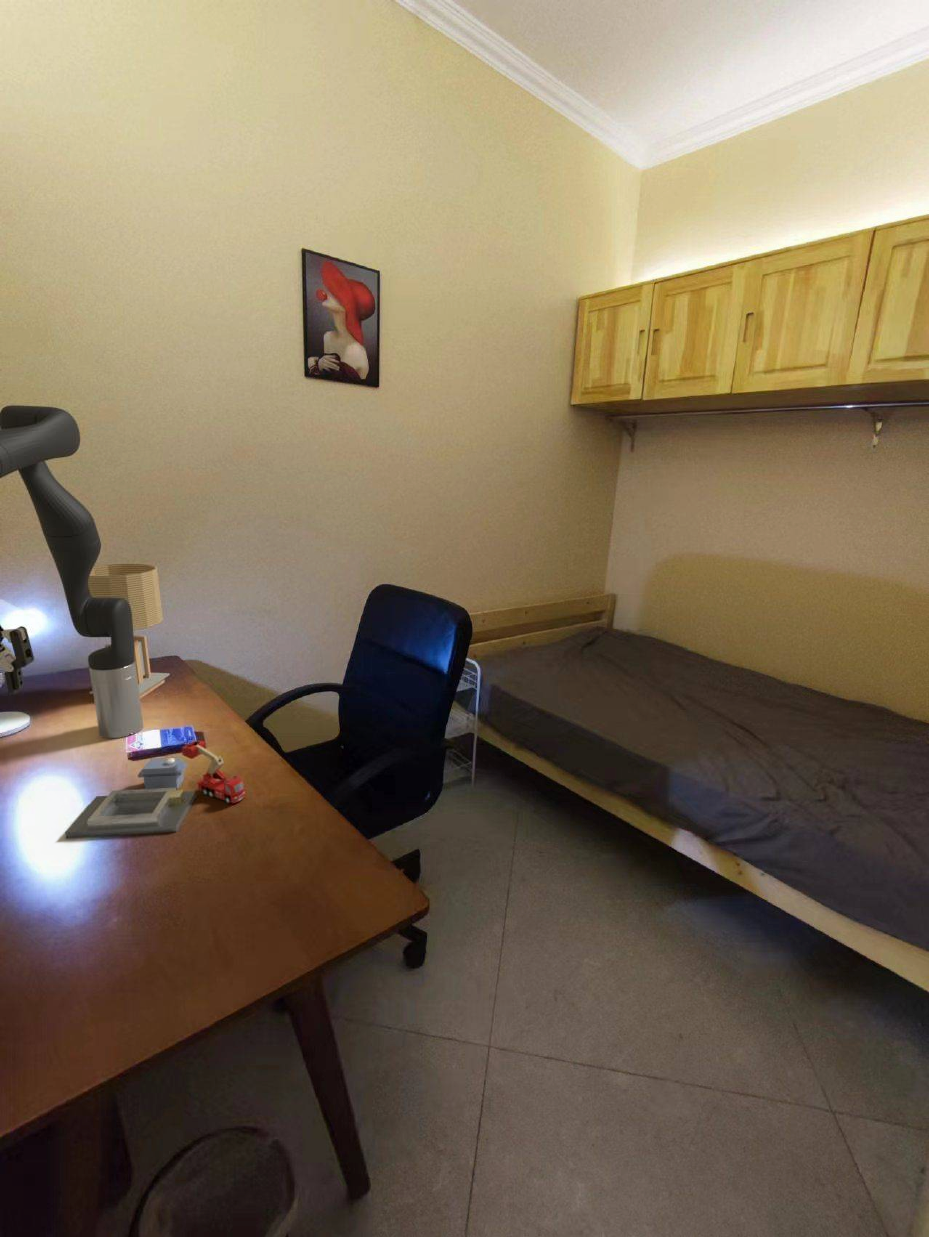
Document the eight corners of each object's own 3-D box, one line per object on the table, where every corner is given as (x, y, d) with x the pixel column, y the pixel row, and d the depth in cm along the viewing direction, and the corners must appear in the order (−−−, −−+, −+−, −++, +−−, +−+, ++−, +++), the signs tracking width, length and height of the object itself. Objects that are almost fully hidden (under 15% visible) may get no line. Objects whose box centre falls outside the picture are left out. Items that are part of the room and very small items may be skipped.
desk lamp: (146, 705, 147) (130, 577, 138) (74, 702, 147) (53, 574, 138) (183, 678, 166) (171, 564, 157) (120, 676, 166) (104, 562, 157)
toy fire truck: (234, 806, 105) (231, 761, 102) (185, 787, 110) (180, 744, 108) (248, 797, 108) (244, 754, 105) (199, 779, 113) (194, 738, 111)
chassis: (97, 801, 105) (95, 789, 104) (196, 796, 107) (195, 784, 107) (66, 838, 94) (63, 825, 93) (176, 831, 97) (175, 818, 96)
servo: (148, 780, 112) (144, 756, 111) (189, 778, 114) (186, 754, 112) (140, 791, 109) (136, 766, 107) (182, 789, 110) (179, 764, 108)
